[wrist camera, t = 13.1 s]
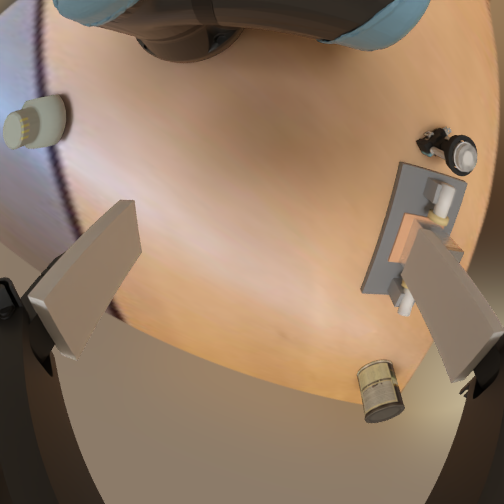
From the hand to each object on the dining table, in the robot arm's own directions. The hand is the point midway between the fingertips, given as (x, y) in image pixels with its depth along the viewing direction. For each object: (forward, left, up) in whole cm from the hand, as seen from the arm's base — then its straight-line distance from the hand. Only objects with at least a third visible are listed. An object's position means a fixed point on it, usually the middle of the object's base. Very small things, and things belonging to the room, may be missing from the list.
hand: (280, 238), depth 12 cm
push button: (-5, +24, -27) cm, 36 cm away
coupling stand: (+12, +26, -27) cm, 39 cm away
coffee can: (+52, +34, -27) cm, 68 cm away
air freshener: (-5, -37, -27) cm, 46 cm away
